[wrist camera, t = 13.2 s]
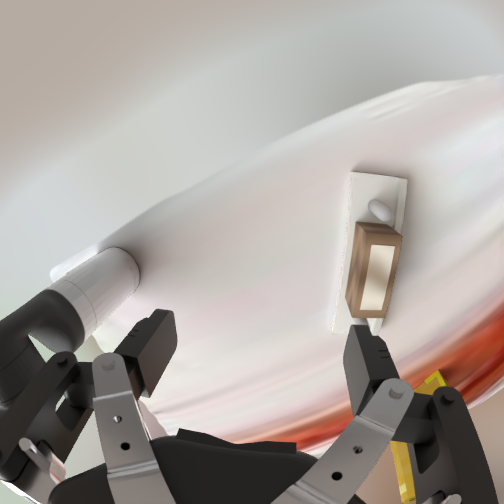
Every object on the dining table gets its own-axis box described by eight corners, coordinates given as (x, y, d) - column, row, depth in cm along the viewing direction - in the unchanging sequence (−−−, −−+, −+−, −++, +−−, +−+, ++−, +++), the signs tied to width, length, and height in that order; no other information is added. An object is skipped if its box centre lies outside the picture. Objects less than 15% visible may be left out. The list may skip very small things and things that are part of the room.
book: (437, 369, 47) (478, 458, 24) (447, 381, 48) (485, 462, 24) (377, 412, 52) (396, 503, 29) (391, 421, 53) (409, 505, 30)
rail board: (331, 329, 46) (335, 352, 40) (350, 171, 37) (362, 174, 31) (374, 329, 45) (383, 352, 39) (401, 177, 36) (419, 182, 30)
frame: (374, 298, 42) (384, 318, 36) (344, 297, 42) (352, 318, 36) (387, 224, 38) (402, 236, 32) (355, 221, 38) (366, 233, 32)
